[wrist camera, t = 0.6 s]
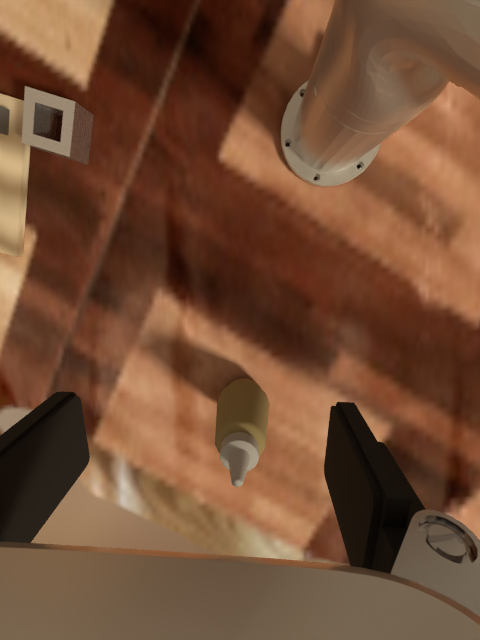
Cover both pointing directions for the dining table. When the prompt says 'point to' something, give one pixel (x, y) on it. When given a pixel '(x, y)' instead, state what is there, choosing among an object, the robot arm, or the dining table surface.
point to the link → (43, 125)
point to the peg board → (12, 176)
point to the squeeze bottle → (241, 427)
